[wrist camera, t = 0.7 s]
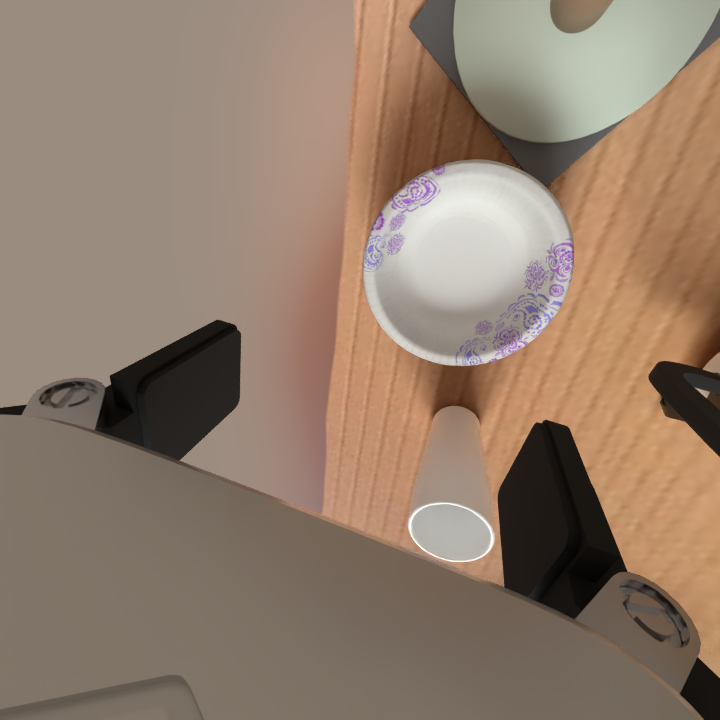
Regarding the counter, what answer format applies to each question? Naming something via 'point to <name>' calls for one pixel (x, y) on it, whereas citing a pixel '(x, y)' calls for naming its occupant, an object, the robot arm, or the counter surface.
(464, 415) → the drinking glass
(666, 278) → the counter surface
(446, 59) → the mat
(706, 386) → the coffee press
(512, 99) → the lid
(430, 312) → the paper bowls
